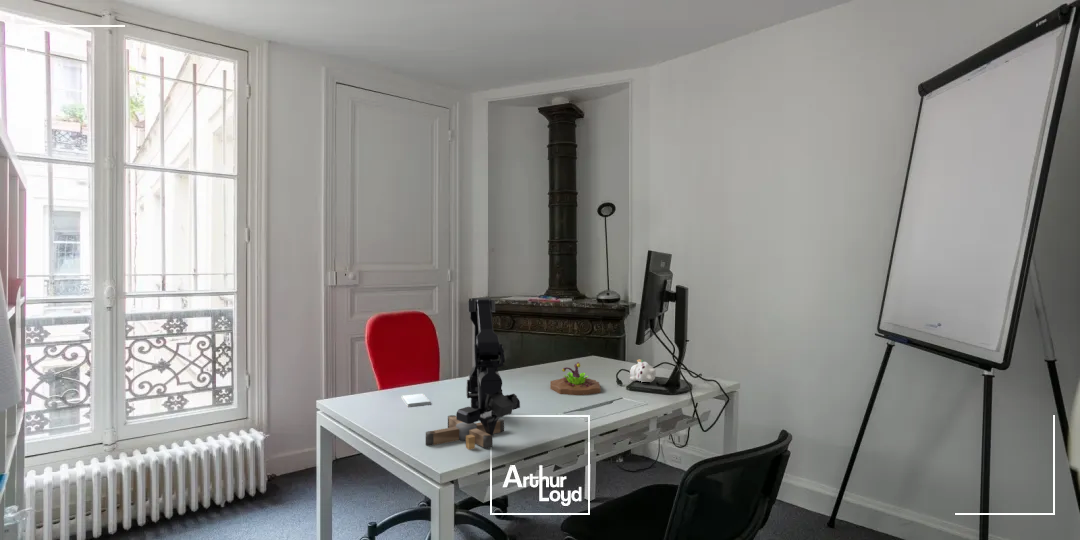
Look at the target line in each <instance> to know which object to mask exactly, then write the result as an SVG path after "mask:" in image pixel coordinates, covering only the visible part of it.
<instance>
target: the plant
mask: <svg viewBox="0 0 1080 540" xmlns="http://www.w3.org/2000/svg"><path fill="white" fill-rule="evenodd" d="M573 365H574V369H575V370H573V369H572V368H570V367H566V366H565V367H563V368H562V372H566V370H569V371H568V372H567V373H566V375H565V374H563V377H562V378H558V379H553V380H550V384H549V385H550V387H549V389H550V390H552V391H553V392H555V393H556V394H559V395H567V396H587V395H592V394H593V395H595V394H601V392H602V391H601V389H602V388H601V384H600V382H599V381H597V380H596V379H592V378H589V375H586V372H581V373H579V372H580V371H579V368H581V363H580V362H579V361H577V362H576V363H574V364H573ZM585 375H586V376H585Z"/></svg>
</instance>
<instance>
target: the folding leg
mask: <svg viewBox="0 0 1080 540" xmlns="http://www.w3.org/2000/svg"><path fill="white" fill-rule="evenodd" d="M469 435H473V436H475V445H478V446H480V447H483V449H491V448H493V442H494V441H493V440H494V439H493V436H494V435H493V436H492V435H490V434H488V433H486V432H483V431H481V430H479V429H477V428H476V429H472V430H469Z"/></svg>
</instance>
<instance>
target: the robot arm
mask: <svg viewBox="0 0 1080 540" xmlns="http://www.w3.org/2000/svg"><path fill="white" fill-rule="evenodd" d="M467 313H469V319H470V321H471V322H472V324H473V327H474V328H473V367H472V368H471V369H470V371H469V373H468V379H467V380H466V389H465V390H466V392H465V393H466V398H467V399H470V406H468V405H467V406H466V407H462V408H459V409H457V411H456V415H455V416H456V417H457V420H459V421H462V422H464V423H467V424H471V423H478V422H479V423H480V422H481V423H482V425H483V427H484V429H485V431H486V433H488V434H490V435H492V436H494V434H493V432H494V429H495V426H496V423H497V421H498V419H501V418H503V417H505V416H507V415H511V414H512V413H513V411H514V410H517V409H520V408H521V401H520V399H519V398H518V395H516V393H511V394H506V395H504V393H503V389H502V387H503V379H502V377H501V375H500V373H499V367H502V368H503V367H504V363H505V362H506V358H505V356H506V355H505V350H504V346H503V344H502V343H500V338H499V335H498V334H497V333H495V332H494V325H493V313H496V299H495V300H494V299H491V297H471V299H470V300H467Z"/></svg>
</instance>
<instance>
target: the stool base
mask: <svg viewBox="0 0 1080 540" xmlns="http://www.w3.org/2000/svg"><path fill="white" fill-rule="evenodd" d="M476 428H477V429H479V430H481V431H483V432H486V431H485V429H484V427H483V425H482V423H481V422H480V421H479V422H474V423H471V424H467V423H464V422H462V421H459V420H457V417H456V415H453V414H451V415H448V416H447V428H441V429H435V430H428V431H426V432H425V446H427V447H428V446H429V447H431V446H435V445H436V446H437V445H440V444H441V445H442V444H447V443H451V442H458V441H462V442H465V448H466V449H467V450H470V451H471V450H474V449H476V443H475V436H473V435H469V430H472V429H476ZM504 432H505V419H503V418H499V419H498V421H497V423H496V426H495V429H494V432H493V435H494V434H501V433H504Z"/></svg>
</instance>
